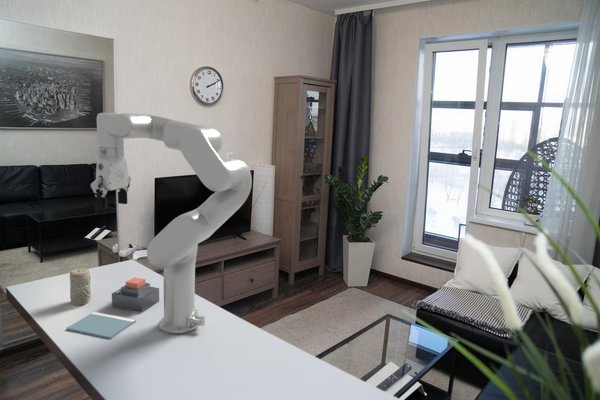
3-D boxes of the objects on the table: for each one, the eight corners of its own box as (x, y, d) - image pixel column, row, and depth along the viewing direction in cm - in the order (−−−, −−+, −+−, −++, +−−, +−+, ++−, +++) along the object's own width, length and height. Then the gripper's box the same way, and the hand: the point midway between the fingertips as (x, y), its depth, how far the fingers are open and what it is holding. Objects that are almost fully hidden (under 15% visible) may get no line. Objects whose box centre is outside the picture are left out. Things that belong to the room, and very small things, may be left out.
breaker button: (145, 284, 152) (145, 279, 152) (137, 289, 148) (137, 283, 148) (134, 282, 153) (134, 277, 153) (125, 287, 149) (125, 281, 149)
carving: (67, 307, 147) (65, 274, 144) (74, 298, 154) (72, 266, 152) (87, 307, 148) (86, 274, 146) (93, 298, 155) (92, 266, 153)
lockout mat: (136, 321, 140) (136, 319, 139) (110, 339, 128) (110, 336, 128) (94, 313, 144) (94, 311, 143) (66, 329, 132) (66, 327, 132)
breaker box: (159, 301, 155) (159, 282, 154) (142, 312, 146) (141, 293, 144) (130, 296, 158) (130, 278, 157) (112, 307, 149) (111, 288, 147)
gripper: (101, 155, 126) (103, 212, 129) (138, 152, 142) (139, 202, 145) (80, 154, 128) (82, 210, 131) (119, 150, 144) (120, 200, 147)
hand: (112, 206), depth 138 cm, fingers open, 9 cm apart
